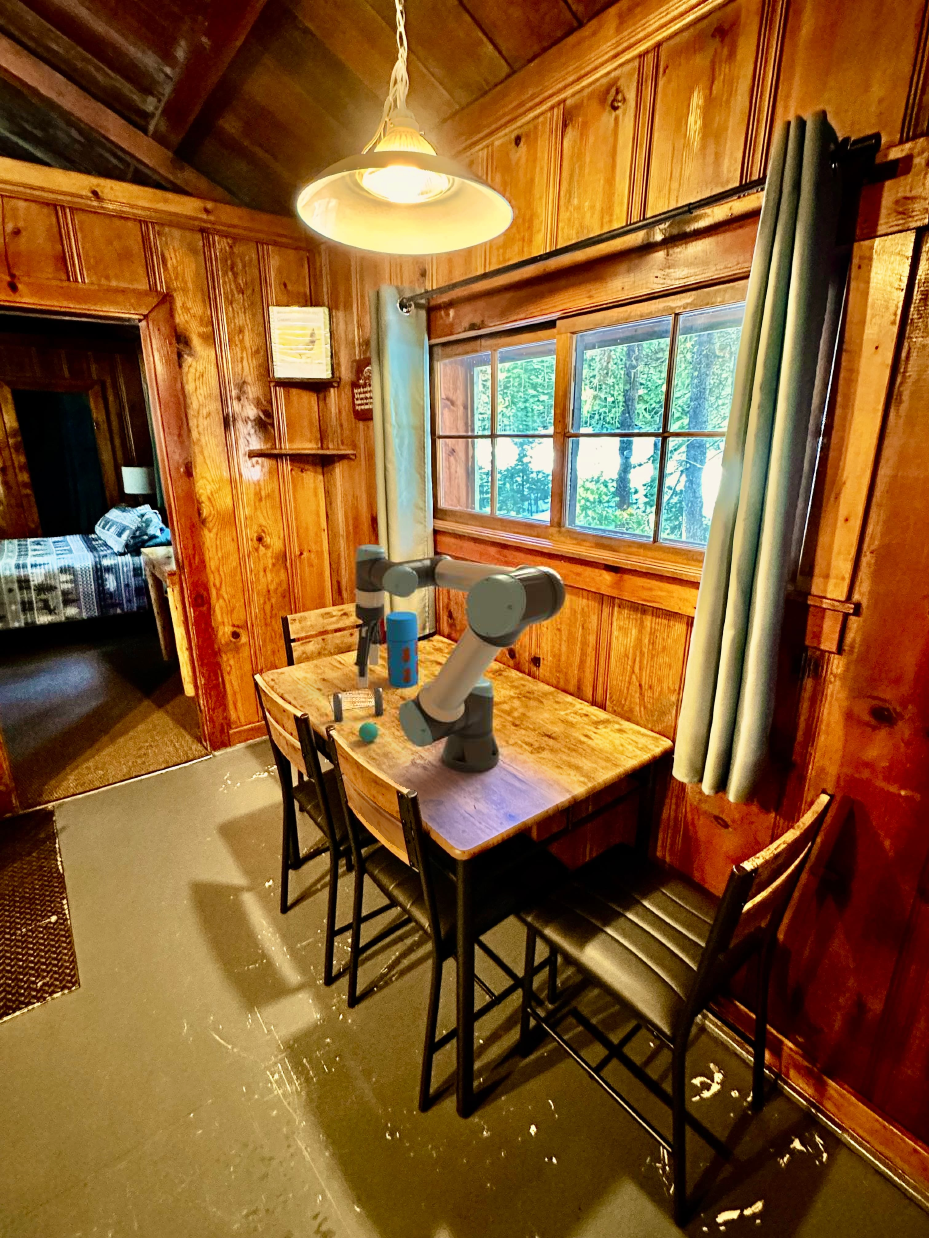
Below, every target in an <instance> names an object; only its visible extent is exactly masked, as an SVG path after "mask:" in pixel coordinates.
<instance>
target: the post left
mask: <svg viewBox="0 0 929 1238" xmlns="http://www.w3.org/2000/svg"><path fill="white" fill-rule="evenodd" d="M341 693H342V692H341V691H334V692H333V693H331V694H332V695H333V709H334V712H333V722H334V721H335V723H336V722H339V723H342V722H344V716H343V710H342V698H341ZM333 709H332V710H333ZM341 721H342V722H341Z"/></svg>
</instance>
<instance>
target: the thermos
mask: <svg viewBox="0 0 929 1238" xmlns="http://www.w3.org/2000/svg"><path fill="white" fill-rule="evenodd" d="M385 632H386V633H385V634H386V635H385V637H386V654H387V655H386V656H387V658H386V659H387V677H388V684H390V685H389V686H390V687H392V686H393V687H392V688H395V687H397V688H396V689H408V688H412V687H415V686H416V685H418V683H419V644H418V643H419V641H418V640H419V637H418V636H419V635H418V634H419V633H418V617H417V614H416V613H415V612H411V611H393V612H389V613H388V614H387V613H386V617H385Z"/></svg>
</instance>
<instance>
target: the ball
mask: <svg viewBox="0 0 929 1238" xmlns="http://www.w3.org/2000/svg"><path fill="white" fill-rule="evenodd" d="M378 735H379V728H378V726H377V724H374V723H373V722H365V723H362V725H360V727H359V730H358V736H359V738H360V739H361V740H362V741H363V742H366V743H372V742H373V741H375V740H376V739H377V737H378Z"/></svg>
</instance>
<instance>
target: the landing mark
mask: <svg viewBox="0 0 929 1238" xmlns="http://www.w3.org/2000/svg"><path fill="white" fill-rule="evenodd" d="M358 690H359V689H357V690H351V691H343V692H341V693H344V694H341V697H342V701H352V700H353V701H365V700H366V699H363V698H361V699H360V698H356V699H357V700H356V699H355V698H353V699H352V698H350V697H367V695H366V694H365V695H366V696H365V695H363V694H360V695H358V694H357V695H355V694H354V695H352V694H349V693H366V692H364V691H363V690H369V691H370V689H369V688H367V689H366V688H365V689H360V690H359V691H358ZM361 690H362V691H361ZM352 691H353V692H352ZM355 691H356V692H355ZM346 693H347V694H346ZM367 693H368V692H367ZM369 693H371V691H370V692H369ZM369 696H370V695H369ZM369 696H368V697H369ZM371 696H372V697H373V698H372V699H367V700H368V701H372V703H371V702H370V703H369V702H368V703H367V702H366V703H362V702H361V703H360V702H359V703H357V702H356V704H354V705H358V706H355V708H356V709H360V707H362V708H368V707H367V706H368V705H369V707H374V706H373V705H374V695H372V694H371ZM371 696H370V697H371ZM329 697H330V696H329ZM329 697H328V698H329ZM344 697H345V698H344ZM347 697H348V698H347ZM346 698H347V699H346ZM349 698H350V699H349ZM351 699H352V700H351ZM359 699H360V700H359ZM367 700H366V701H367ZM330 701H333V700H329V703H330V707H331V709H332V712H333V713H334V709H333V702H330ZM348 703H349V702H348ZM351 703H352V702H351ZM342 705H348V704H346V702H345V703H344V702H342ZM349 705H350V704H349ZM352 705H353V704H352ZM359 705H360V706H359ZM361 705H362V706H361ZM364 705H365V706H364ZM366 705H367V706H366ZM353 708H354V707H353ZM345 709H349V710H353V709H352V708H349V707H347V706H344V707H343V706H342V711H346V710H345Z"/></svg>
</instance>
